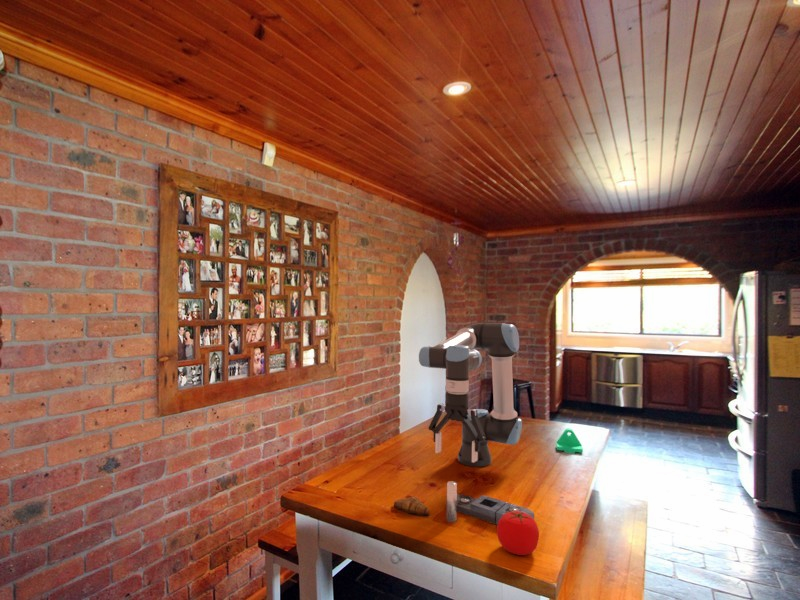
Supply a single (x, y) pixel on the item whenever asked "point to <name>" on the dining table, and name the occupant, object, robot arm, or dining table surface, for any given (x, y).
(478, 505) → the chain end
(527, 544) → the tomato
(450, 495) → the steel pin
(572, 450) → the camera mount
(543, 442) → the dining table surface
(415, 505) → the croissant
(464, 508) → the chain end
